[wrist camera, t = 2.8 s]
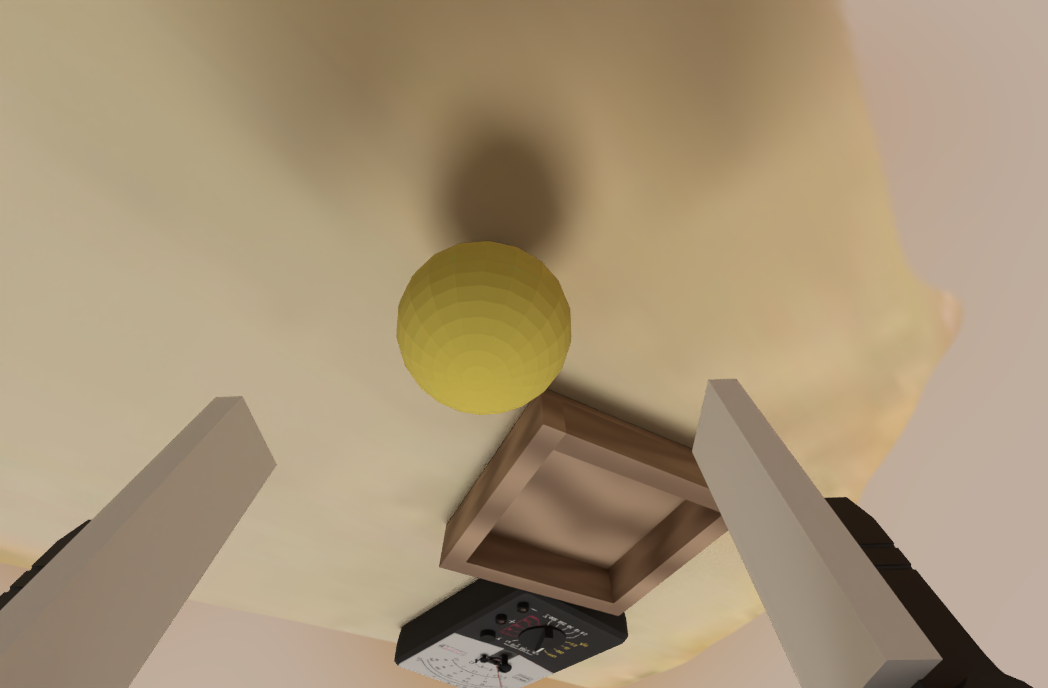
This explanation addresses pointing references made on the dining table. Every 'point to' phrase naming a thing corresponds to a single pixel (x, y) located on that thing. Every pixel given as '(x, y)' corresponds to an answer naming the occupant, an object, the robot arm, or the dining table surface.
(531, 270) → the light bulb
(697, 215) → the dining table surface
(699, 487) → the tray
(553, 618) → the multimeter
